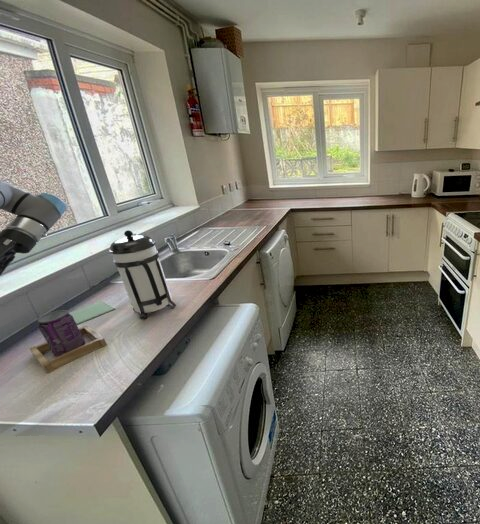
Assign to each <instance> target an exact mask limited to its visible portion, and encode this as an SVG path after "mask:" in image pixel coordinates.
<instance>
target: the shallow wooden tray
mask: <svg viewBox="0 0 480 524" xmlns="http://www.w3.org/2000/svg"><path fill="white" fill-rule="evenodd" d="M78 328H79V330H80V332H81V335H82V337H85V336H86V335H87V336H88V337H90V339H92V341H89V342H87V343H85V344H84V345H82V346H80V347H78V348H76V349H74V350H71V351H69V352H67V353H65V354H63V355H60V356H55V357H54V358H51V359H50V360H47V358H46V357H45V356H44V355H43V354H45V353H48V352H50V351H51V349H50V347H49V345H48V344H47V342H46V341H45V342H43V343H40V344H38V345H36V346H35V345H34V346H31V347H29V351H30V352H31V355H32V356H33V357H34V358H35V360H36V361H37V362H38V364H39V365H40V366H41V367H42V368H43V369H44V371H45V372H46V373H47V374H49V373H51V372H54V370H56V369H59V368H60V367H62V366H64V365H67V364H69V363H71V362H73V361H75V360H77V359H79V358H81V357H83V356H86V355H87V354H90V353H92V352H93V351H96V350H98V349H100V348H104V347H106V346H108V344H107V341H106V339H105V338H104V337H103V336H102V335H100V333H98V332H97V331H96V330H94V329H93V328H91V327H90V326H89V325H87V324H85V325H83V326H81V327H78Z"/></svg>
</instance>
